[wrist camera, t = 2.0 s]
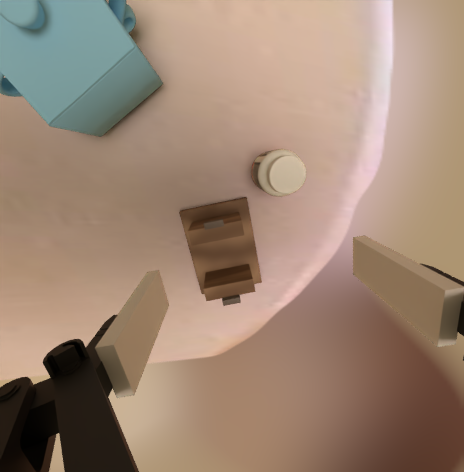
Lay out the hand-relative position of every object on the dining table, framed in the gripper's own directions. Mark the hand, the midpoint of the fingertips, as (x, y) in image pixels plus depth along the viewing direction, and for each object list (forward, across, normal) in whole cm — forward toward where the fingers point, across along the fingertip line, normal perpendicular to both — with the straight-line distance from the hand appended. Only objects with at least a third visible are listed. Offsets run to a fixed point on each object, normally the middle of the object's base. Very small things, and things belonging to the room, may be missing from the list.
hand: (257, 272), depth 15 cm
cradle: (+20, -3, -5) cm, 21 cm away
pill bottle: (+21, +5, +5) cm, 22 cm away
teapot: (+20, -15, +23) cm, 35 cm away
